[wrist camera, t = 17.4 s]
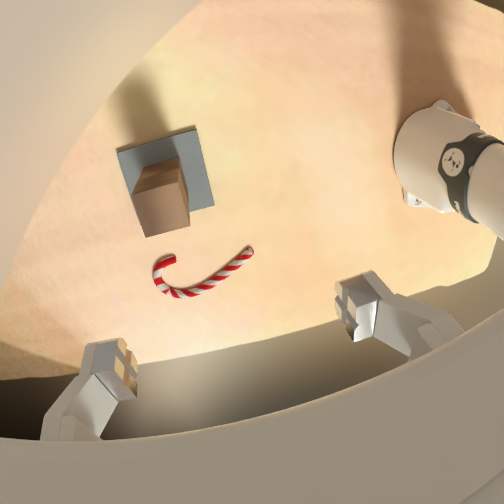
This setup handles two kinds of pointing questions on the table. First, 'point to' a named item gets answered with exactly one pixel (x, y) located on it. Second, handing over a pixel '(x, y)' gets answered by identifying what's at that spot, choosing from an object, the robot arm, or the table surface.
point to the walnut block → (162, 198)
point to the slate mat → (166, 150)
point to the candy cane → (203, 287)
